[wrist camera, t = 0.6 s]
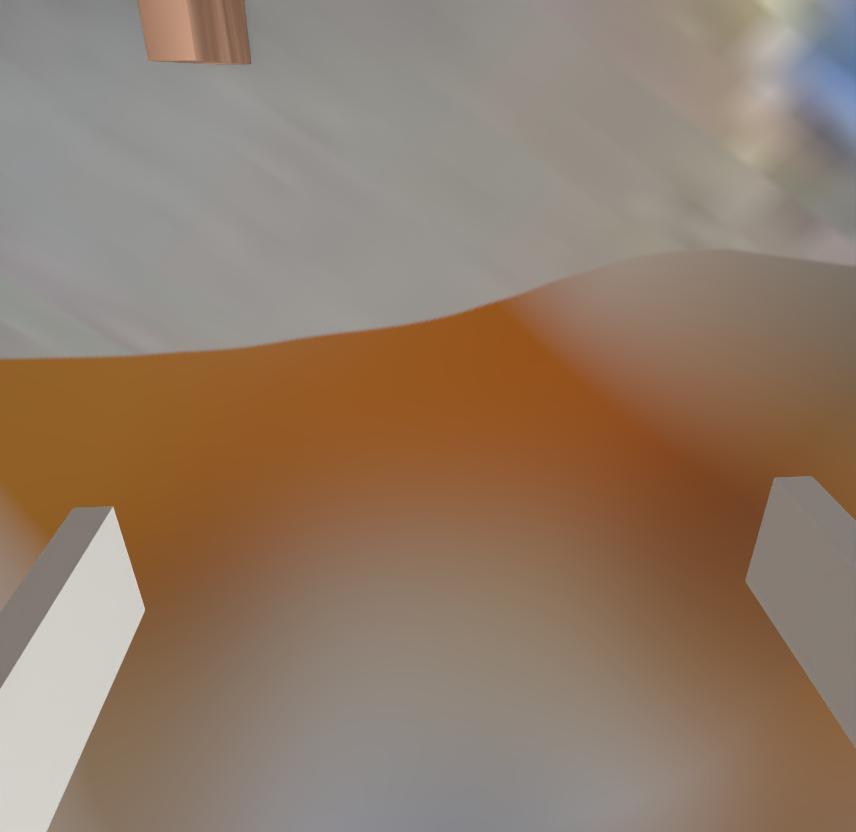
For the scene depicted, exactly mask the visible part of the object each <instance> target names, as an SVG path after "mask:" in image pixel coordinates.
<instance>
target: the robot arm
mask: <svg viewBox="0 0 856 832" xmlns="http://www.w3.org/2000/svg"><path fill="white" fill-rule="evenodd" d="M745 582H746V583H747V585H748V586H749V588H750V589H751V591H752V592H753V594H754V595H755V597H756V598H757V600H758V601H759V603H760V604H761V606H762V607H763V609H764V610H765V612H766V613H767V615H768V616H769V618H770V619H771V621H772V622H773V624H774V625H775V627H776V628H777V630H778V631H779V633H780V634H781V636H782V637H783V639H784V640H785V642H786V644H787V645H788V646H789V648H790V650H791V651H792V653H793V654H794V655H795V657H796V658H797V660H798V662H799V663H800V665H801V666H802V668H803V669H804V671H805V672H806V674H807V675H808V677H809V678H810V680H811V681H812V683H813V684H814V685H815V687H816V689H817V690H818V692H819V693H820V695H821V696H822V698H823V699H824V701H825V702H826V704H827V705H828V707H829V709H830V710H831V712H832V713H833V714H834V716H835V717H836V719H837V721H838V722H839V724H840V725H841V727H842V728H843V730H844V731H845V733H846V734H847V736H848V737H849V739H850V740H851V742H852V743H853V745H854V746H855V748H856V521H855V520H854V519H853V518H852V517H851V516H850V515H849V514H848V513H847V512H846V511H845V510H844V509H843V508H842V507H841V506H840V505H839V504H838V503H837V502H836V500H834V498H833V497H832V496H831V495H830V494H829V493H828V492H827V491H826V490H825V489H824V488H823V487H822V486H821V485H820V484H819V483H818V482H817V481H816V480H815V479H814V478H813V477H812V476H810V477H809V476H808V477H784V478H774V481H773V485H772V488H771V492H770V495H769V499H768V502H767V506H766V510H765V513H764V517H763V520H762V524H761V528H760V531H759V535H758V538H757V542H756V546H755V549H754V552H753V556H752V560H751V563H750V567H749V570H748V574H747V577H746V581H745ZM144 611H145V608H144V605H143V601H142V598H141V595H140V592H139V589H138V586H137V582H136V579H135V576H134V572H133V570H132V566H131V563H130V560H129V556H128V553H127V550H126V547H125V544H124V540H123V537H122V534H121V531H120V528H119V524H118V521H117V518H116V515H115V511H114V508H113V506H112V507H90V508H73V509H72V511H71V512H70V513H69V515H68V516H67V518H66V519H65V521H64V522H63V524H62V525H61V526H60V528H59V529H58V531H57V532H56V533H55V535H54V536H53V538H52V539H51V541H50V542H49V544H48V545H47V546H46V548H45V549H44V551H43V552H42V553H41V555H40V556H39V558H38V559H37V560H36V562H35V563H34V565H33V566H32V568H31V569H30V570H29V572H28V573H27V575H26V576H25V578H24V579H23V580H22V582H21V583H20V585H19V586H18V588H17V589H16V590H15V592H14V593H13V595H12V596H11V598H10V599H9V600H8V602H7V603H6V605H5V606H4V607H3V609H2V610H1V612H0V832H46V831H47V829H48V827H49V825H50V822H51V820H52V818H53V816H54V813H55V811H56V809H57V807H58V805H59V802H60V800H61V798H62V796H63V793H64V791H65V789H66V786H67V784H68V782H69V780H70V778H71V775H72V773H73V771H74V769H75V766H76V764H77V762H78V760H79V757H80V755H81V753H82V751H83V748H84V746H85V744H86V742H87V739H88V737H89V735H90V733H91V730H92V728H93V726H94V724H95V721H96V719H97V717H98V715H99V712H100V710H101V708H102V706H103V704H104V701H105V699H106V697H107V695H108V692H109V690H110V688H111V686H112V683H113V681H114V679H115V676H116V674H117V672H118V670H119V668H120V665H121V663H122V661H123V658H124V656H125V654H126V652H127V649H128V647H129V645H130V643H131V641H132V638H133V636H134V634H135V632H136V629H137V627H138V625H139V623H140V620H141V618H142V616H143V614H144Z"/></svg>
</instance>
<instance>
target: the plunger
mask: <svg viewBox="0 0 856 832" xmlns="http://www.w3.org/2000/svg"><path fill="white" fill-rule="evenodd" d="M138 6H139V11H140V17H141V22H142V28H143V33H144V39H145V44H146V50H147V55H148V61H161V62H179V63H198V64H216V65H224V64H251V56H250V47H249V39H248V30H247V22H246V14H245V5H244V0H138Z"/></svg>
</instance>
